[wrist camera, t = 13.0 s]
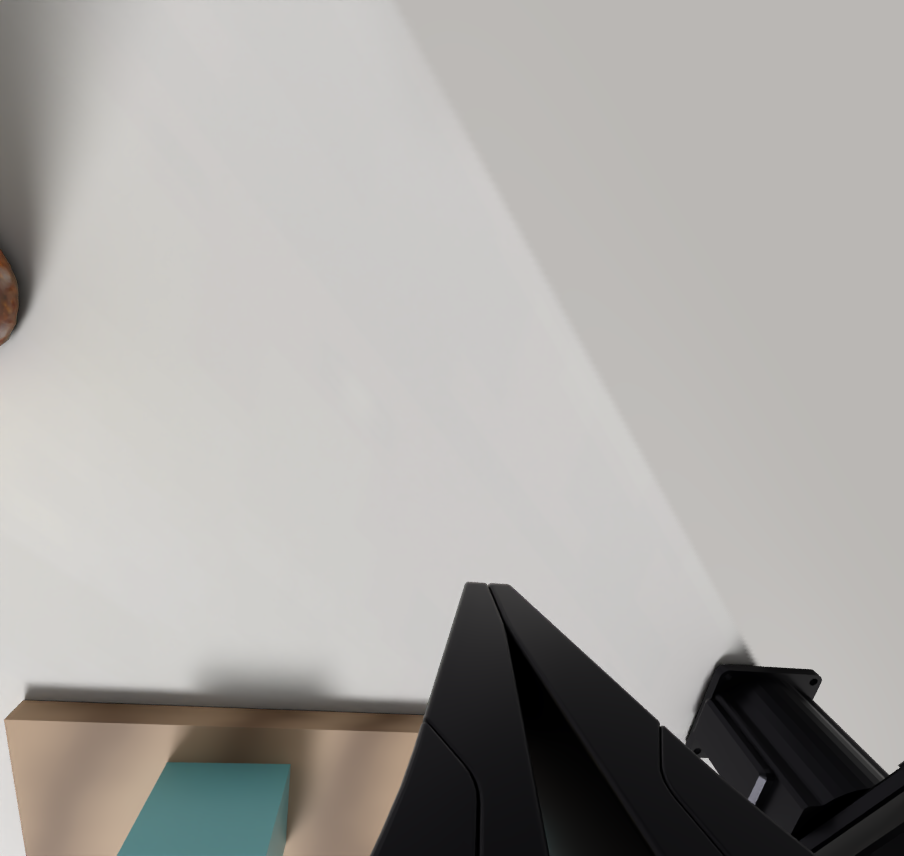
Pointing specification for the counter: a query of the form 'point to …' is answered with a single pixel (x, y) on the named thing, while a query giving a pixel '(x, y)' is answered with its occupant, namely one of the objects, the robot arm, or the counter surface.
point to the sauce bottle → (7, 299)
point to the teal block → (213, 811)
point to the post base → (201, 741)
